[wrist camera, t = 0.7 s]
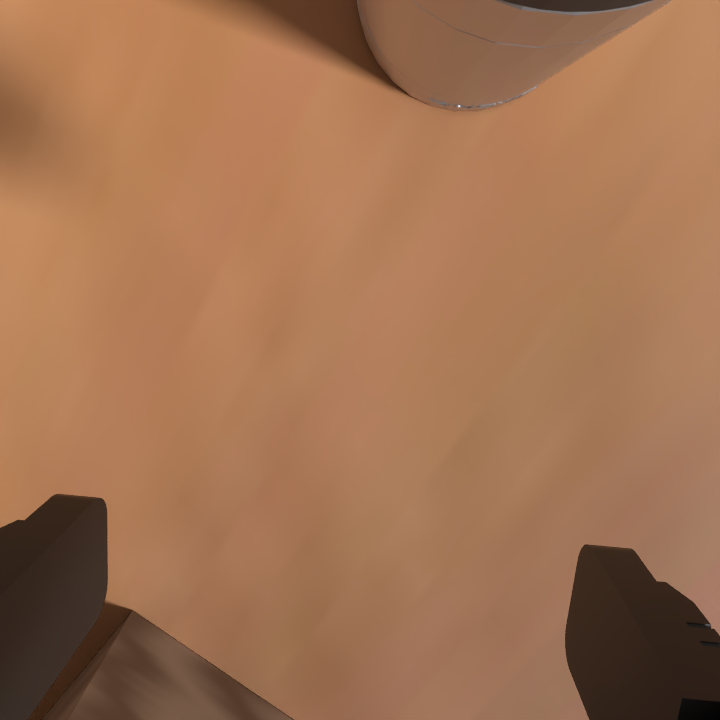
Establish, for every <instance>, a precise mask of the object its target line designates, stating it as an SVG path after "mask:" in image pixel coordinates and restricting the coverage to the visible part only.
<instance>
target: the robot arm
mask: <svg viewBox="0 0 720 720" xmlns="http://www.w3.org/2000/svg"><path fill="white" fill-rule="evenodd" d="M356 1H357V6H358V12H359V18H360V21H361V25H362V28H363V32H364V35H365V39H366V42H367V44H368V46H369V48H370V50H371V51H372V53H373V55H374V57H375V59H376V61H377V63H378V64H379V66H380V67H381V68H382V69H383V70H384V72H385V73H386V74H387V75H388V77H389V78H390V79H391V80H392V81H393V82H394V83H395V84H396V85H397V86H399V87H400V88H401V89H403V90H404V91H405V92H406V93H408V94H409V95H410V96H412V97H414V98H416V99H418V100H420V101H422V102H424V103H426V104H428V105H430V106H433V107H438V108H442V109H447V110H451V111H479V110H483V109H487V108H492V107H496V106H500V105H502V104H504V103H507V102H509V101H511V100H513V99H515V98H519V97H521V96H522V95H524V94H526V93H528V92H529V91H531V90H533V89H535V88H536V87H538V85H539V84H541V83H543V82H544V81H546V80H547V79H549V78H550V77H552V76H554V75H555V74H557V73H558V72H560V71H561V70H563V69H565V68H566V67H568V66H569V65H571V64H572V63H574V62H576V61H577V60H579V59H580V58H582V57H584V56H585V55H587V54H588V53H590V52H591V51H593V50H595V49H596V48H598V47H599V46H601V45H602V44H604V43H606V42H607V41H609V40H610V39H612V38H614V37H615V36H617V35H618V34H620V33H621V32H623V31H625V30H626V29H628V28H629V27H631V26H632V25H634V24H636V23H637V22H639V21H640V20H642V19H643V18H645V17H647V16H648V15H650V14H651V13H653V12H655V11H656V10H658V9H659V8H661V7H662V6H664V5H666V4H667V3H669V2H670V1H671V0H356ZM107 582H108V564H107V507H106V504H105V501H104V500H103V499H102V498H96V497H85V496H75V495H64V494H56V495H54V496H52V497H51V498H50V499H49V500H47V501H46V502H45V503H44V504H43V505H42V506H40V507H39V508H38V509H37V510H36V511H35V512H34V513H32V514H31V515H30V516H29V517H28V518H27V519H25V520H17V521H14V522H12V523H10V524H8V525H6V526H3V527H1V528H0V720H28V719H29V717H30V716H31V715H32V713H33V712H34V710H35V709H36V707H37V706H38V705H39V703H40V702H41V700H42V699H43V697H44V696H45V694H46V693H47V692H48V690H49V689H50V687H51V686H52V684H53V683H54V682H55V680H56V679H57V677H58V676H59V674H60V673H61V672H62V670H63V669H64V667H65V666H66V664H67V663H68V662H69V660H70V659H71V657H72V656H73V654H74V653H75V651H76V650H77V649H78V647H79V646H80V644H81V643H82V641H83V640H84V639H85V637H86V636H87V634H88V633H89V631H90V630H91V629H92V627H93V626H94V624H95V623H96V621H97V620H98V618H99V616H100V613H101V611H102V608H103V605H104V601H105V597H106V592H107ZM565 648H566V657H567V662H568V666H569V669H570V672H571V674H572V677H573V680H574V682H575V685H576V687H577V690H578V692H579V695H580V697H581V700H582V702H583V705H584V707H585V710H586V712H587V715H588V717H589V720H720V636H719V634H718V633H717V632H716V631H715V629H711V624H710V623H709V622H708V620H707V619H706V618H705V616H704V615H703V614H702V613H701V611H700V610H699V609H698V607H697V606H696V605H695V604H694V602H692V601H691V600H690V599H688V598H687V597H685V596H684V595H683V594H681V593H680V592H679V591H677V590H676V589H674V588H673V587H672V586H670V585H669V584H668V583H666V582H658V581H656V580H655V579H654V577H653V576H652V574H651V573H650V572H649V570H648V569H647V568H646V566H645V565H644V563H643V562H642V561H641V559H640V558H639V556H638V555H637V554H636V552H635V551H634V550H632V549H630V548H619V547H608V546H598V545H587V544H586V545H584V546H583V547H582V549H581V551H580V553H579V557H578V562H577V567H576V573H575V579H574V584H573V590H572V596H571V601H570V607H569V613H568V619H567V624H566V633H565Z"/></svg>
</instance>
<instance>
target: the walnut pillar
mask: <svg viewBox="0 0 720 720" xmlns="http://www.w3.org/2000/svg"><path fill="white" fill-rule="evenodd" d="M42 720H293V719H291V718H290V717H288V716H287V715H285V714H284V713H282V712H281V711H279V710H278V709H277V708H275V707H274V706H272V705H271V704H269V703H268V702H266V701H265V700H263V699H262V698H260V697H259V696H257V695H256V694H254V693H253V692H252V691H250V690H249V689H247V688H246V687H244V686H243V685H241V684H240V683H238V682H237V681H235V680H234V679H232V678H231V677H230V676H228V675H227V674H225V673H224V672H222V671H221V670H219V669H218V668H216V667H215V666H213V665H212V664H210V663H209V662H207V661H206V660H205V659H203V658H202V657H200V656H199V655H197V654H196V653H194V652H193V651H191V650H190V649H188V648H187V647H185V646H184V645H183V644H181V643H180V642H178V641H177V640H175V639H174V638H172V637H171V636H169V635H168V634H166V633H165V632H163V631H162V630H160V629H159V628H158V627H156V626H155V625H153V624H152V623H150V622H149V621H147V620H146V619H144V618H143V617H141V616H140V615H138V614H137V613H136V612H134V611H132V612H131V613H130V614H129V616H128V617H127V618H126V619H125V620H124V622H123V623H122V624H121V625H120V626H119V628H118V629H117V630H116V631H115V632H114V634H113V635H112V636H111V637H110V638H109V640H108V641H107V642H106V643H105V644H104V646H103V647H102V648H101V649H100V650H99V652H98V653H97V654H96V655H95V656H94V658H93V659H92V660H91V661H90V662H89V664H88V665H87V666H86V667H85V668H84V670H83V671H82V672H81V673H80V674H79V676H78V677H77V678H76V679H75V680H74V682H73V683H72V684H71V685H70V686H69V688H68V689H67V690H66V691H65V692H64V694H63V695H62V696H61V697H60V698H59V700H58V701H57V702H56V703H55V704H54V706H53V707H52V708H51V709H50V710H49V712H48V713H47V714H46V715H45V716H44V718H43V719H42Z"/></svg>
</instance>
